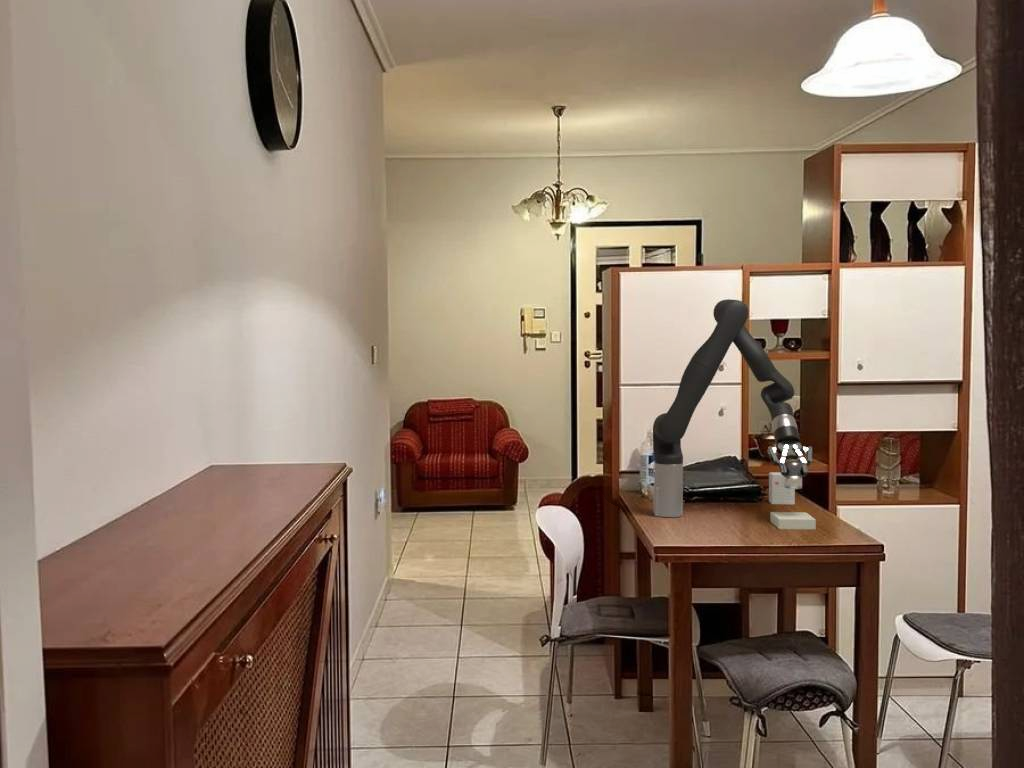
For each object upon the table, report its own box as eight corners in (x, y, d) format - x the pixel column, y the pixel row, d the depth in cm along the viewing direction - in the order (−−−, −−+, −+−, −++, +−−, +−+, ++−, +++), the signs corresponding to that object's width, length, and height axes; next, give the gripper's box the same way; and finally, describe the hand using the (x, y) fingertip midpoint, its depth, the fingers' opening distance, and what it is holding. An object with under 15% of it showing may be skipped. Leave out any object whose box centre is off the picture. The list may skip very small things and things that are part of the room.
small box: (791, 501, 319) (792, 472, 319) (795, 504, 314) (795, 474, 313) (768, 501, 320) (768, 471, 320) (771, 504, 315) (771, 474, 314)
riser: (778, 529, 276) (779, 519, 276) (770, 521, 287) (770, 512, 286) (815, 529, 275) (815, 519, 275) (805, 521, 286) (805, 512, 286)
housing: (786, 489, 278) (786, 463, 277) (782, 486, 283) (782, 460, 282) (804, 489, 277) (804, 463, 277) (799, 486, 283) (799, 460, 282)
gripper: (764, 424, 287) (773, 468, 276) (810, 424, 286) (821, 468, 275) (761, 439, 292) (769, 482, 281) (806, 439, 292) (816, 482, 280)
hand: (794, 475), depth 278 cm, fingers closed on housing, 5 cm apart
